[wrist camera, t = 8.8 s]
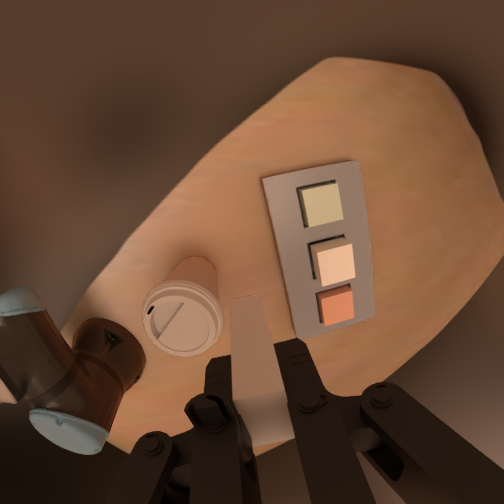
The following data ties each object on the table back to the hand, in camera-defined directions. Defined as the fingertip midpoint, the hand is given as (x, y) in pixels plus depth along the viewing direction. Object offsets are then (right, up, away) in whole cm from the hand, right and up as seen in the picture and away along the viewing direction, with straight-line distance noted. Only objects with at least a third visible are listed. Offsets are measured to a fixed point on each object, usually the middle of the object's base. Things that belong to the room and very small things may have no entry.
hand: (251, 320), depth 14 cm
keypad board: (+11, +4, +29) cm, 31 cm away
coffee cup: (-9, 0, +29) cm, 30 cm away
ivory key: (+11, +3, +26) cm, 28 cm away
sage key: (+9, +11, +25) cm, 29 cm away
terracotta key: (+13, -4, +30) cm, 33 cm away
